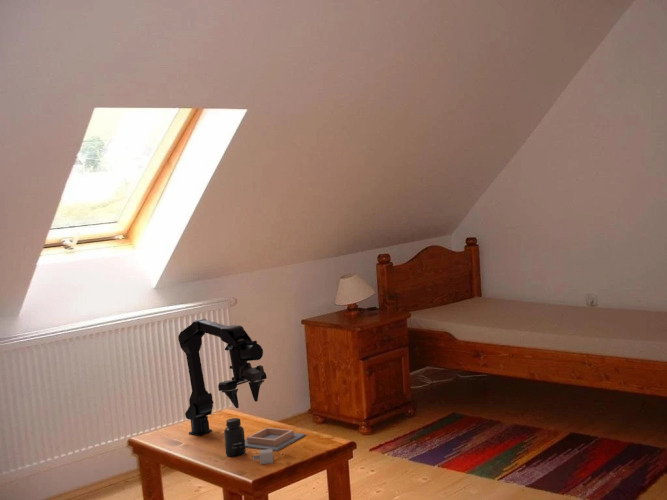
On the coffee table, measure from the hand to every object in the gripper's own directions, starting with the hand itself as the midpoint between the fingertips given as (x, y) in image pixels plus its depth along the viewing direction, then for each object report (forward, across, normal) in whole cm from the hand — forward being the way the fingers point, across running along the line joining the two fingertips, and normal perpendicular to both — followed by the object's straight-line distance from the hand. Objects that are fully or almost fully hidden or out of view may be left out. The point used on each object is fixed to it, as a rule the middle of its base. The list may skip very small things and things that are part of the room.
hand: (246, 404), depth 284 cm
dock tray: (+14, +5, -3) cm, 16 cm away
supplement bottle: (+15, -11, -2) cm, 18 cm away
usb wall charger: (+17, -13, -18) cm, 27 cm away
